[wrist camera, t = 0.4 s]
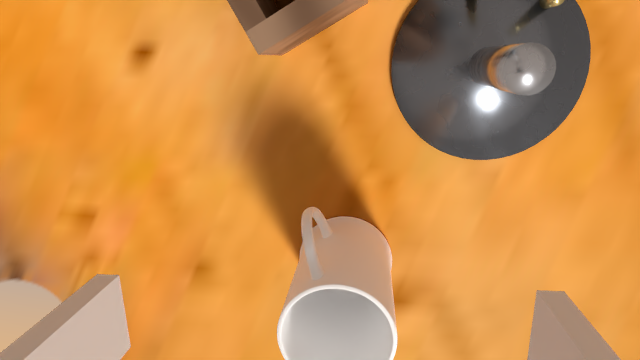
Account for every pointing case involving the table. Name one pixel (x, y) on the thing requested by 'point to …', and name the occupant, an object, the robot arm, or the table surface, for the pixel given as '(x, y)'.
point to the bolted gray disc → (489, 72)
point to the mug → (339, 293)
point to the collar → (288, 21)
